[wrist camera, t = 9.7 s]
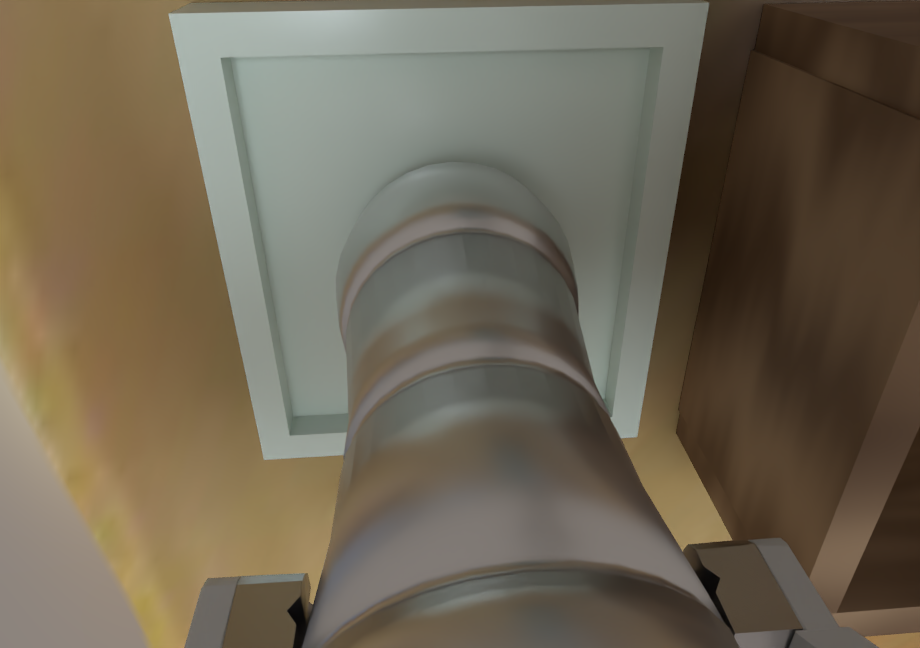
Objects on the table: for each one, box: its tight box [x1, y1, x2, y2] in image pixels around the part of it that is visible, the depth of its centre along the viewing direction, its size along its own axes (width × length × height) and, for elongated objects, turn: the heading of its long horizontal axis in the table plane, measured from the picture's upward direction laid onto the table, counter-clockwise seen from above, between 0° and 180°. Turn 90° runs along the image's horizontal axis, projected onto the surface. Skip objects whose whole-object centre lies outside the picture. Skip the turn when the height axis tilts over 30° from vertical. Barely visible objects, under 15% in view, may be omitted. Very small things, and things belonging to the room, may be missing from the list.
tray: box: [169, 0, 709, 460], centre depth 21 cm, size 14×13×2 cm
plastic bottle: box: [302, 162, 740, 648], centre depth 12 cm, size 6×7×20 cm
